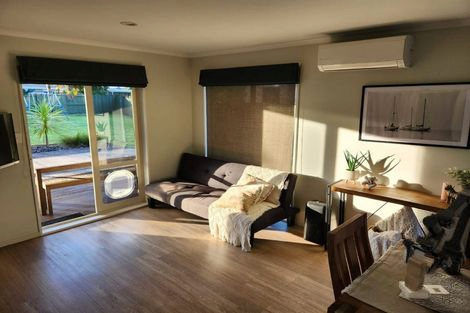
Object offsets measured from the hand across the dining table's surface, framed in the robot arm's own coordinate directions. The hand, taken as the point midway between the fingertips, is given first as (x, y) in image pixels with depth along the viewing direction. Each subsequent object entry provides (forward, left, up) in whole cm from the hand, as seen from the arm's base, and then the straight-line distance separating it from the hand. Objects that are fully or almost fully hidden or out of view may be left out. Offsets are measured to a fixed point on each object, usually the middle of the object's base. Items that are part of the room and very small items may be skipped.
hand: (416, 268), depth 128 cm
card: (-11, -2, -11) cm, 16 cm away
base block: (0, 0, -12) cm, 12 cm away
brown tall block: (0, 0, -9) cm, 9 cm away
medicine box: (-14, -25, -12) cm, 30 cm away
